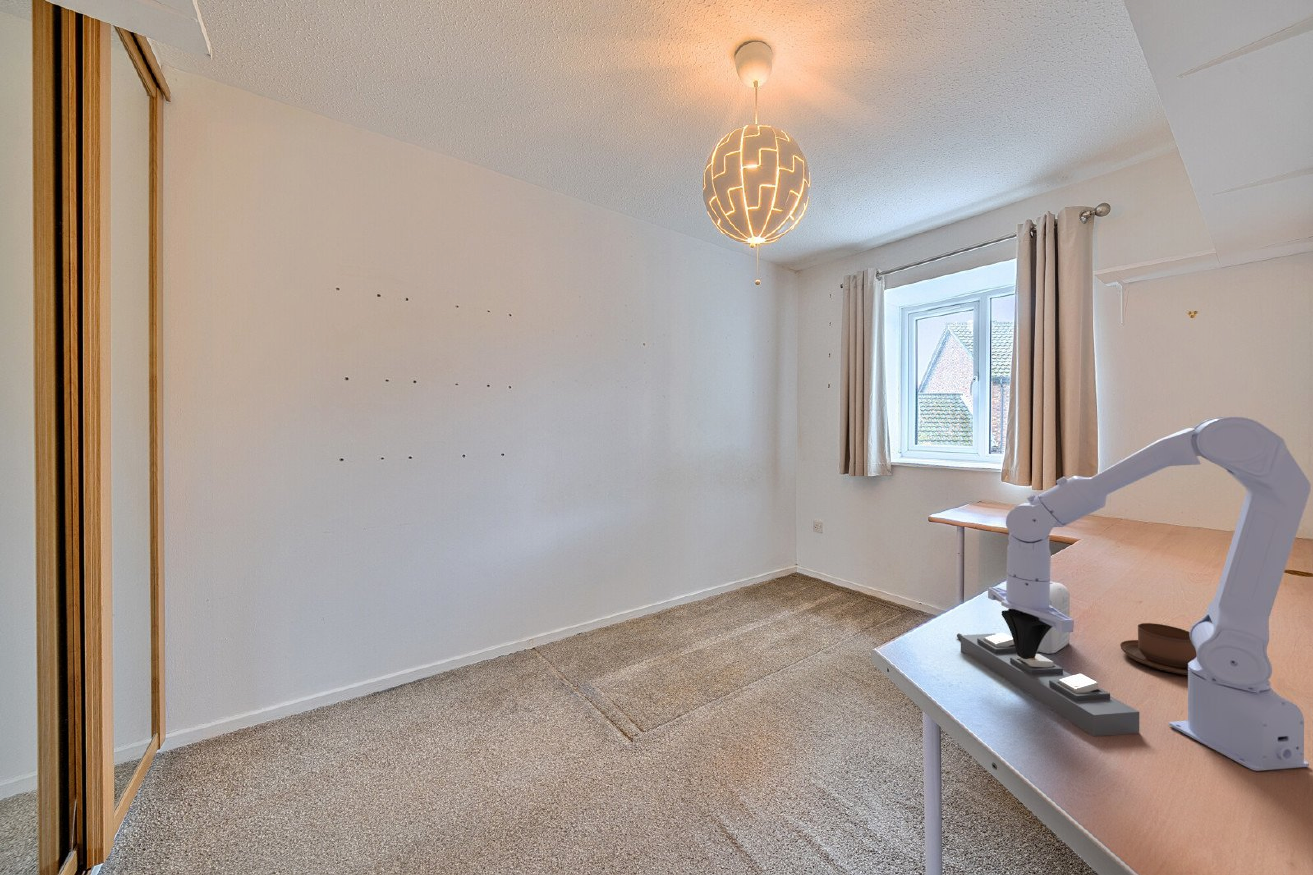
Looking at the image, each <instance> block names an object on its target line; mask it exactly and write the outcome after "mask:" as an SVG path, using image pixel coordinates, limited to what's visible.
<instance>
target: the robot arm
mask: <svg viewBox="0 0 1313 875" xmlns="http://www.w3.org/2000/svg"><path fill="white" fill-rule="evenodd" d="M1198 457H1202V458H1204V459H1205V460H1206V461H1209V462H1210V463H1213V464H1215V465H1217V466H1219V467H1221V468H1223V469H1224V470H1226V472H1227V473H1228V474H1229V475H1230V476H1231V477H1232V478H1234V479H1235V480H1236V482H1238V483H1239V484H1240V485H1241V486H1242V487H1243V488H1245V489H1246V493H1245V497H1244V500H1243V503H1242V507H1241V509H1240V513H1239V516H1238V518H1237V519H1238V520H1237V523H1236V527H1235V529H1234V533H1233V536H1232V539H1231V543H1230V545H1229V549H1228V552H1227V555H1226V559H1225V562H1224V565H1223V569H1222V572H1221V575H1220V577H1219V578H1220V579H1219V582H1218V585H1217V588H1216V591H1215V595H1214V597H1213V599H1212V601H1211V602H1210V604H1208V606H1207V608H1206V612H1205V614H1204V616H1203V617H1201V618H1200V619H1199V620H1198V621H1196V622H1195V623H1194V624H1193V625H1191V628H1190V630H1189V632H1190V634H1189V636H1190V640H1191V642H1192V644H1193V645H1194V647H1195V650H1196V655H1197V657H1196V658H1195V659H1194V660H1192V661H1190V662H1189V663H1188V675H1187V720H1176V721H1169V722H1168V725H1169V726H1170V727H1171V728H1173V729H1175V730H1177V731H1179V732H1181V733H1182V734H1184V735H1186V736H1188V737H1190V738H1192V739H1193V740H1195V741H1198V742H1199V743H1201V744H1203V745H1205V746H1206V747H1209V749H1210V748H1211V749H1213V750H1214V751H1216V752H1218V753H1220V754H1222V755H1224V756H1225V757H1227V758H1229V759H1231V760H1233V761H1235V762H1236V763H1239V764H1240V765H1243V766H1244V767H1246V768H1248V769H1250V770H1252V771H1254V772H1255V771H1256V772H1257V771H1259V772H1260V771H1269V770H1272V771H1273V770H1282V769H1285V770H1286V769H1296V768H1307V767H1310V763H1309V762H1308V761H1307V760H1305V753H1304V752H1305V750H1304V749H1305V719H1304V714H1303V712H1302V710H1301V709H1300V707H1299V706H1298V705H1297V704H1295V703H1294V702H1292V701H1290V700H1288V699H1286V698H1285V697H1282V695H1280V694H1278V693H1277V692H1275V691H1274V689H1273V688H1272V687H1271V682H1270V679H1271V677H1272V674H1273V666H1272V663H1271V660H1270V658H1269V656H1268V652H1267V651H1268V645H1269V642H1270V616H1271V615H1272V614H1271V613H1272V610H1273V607H1274V604H1275V601H1276V598H1277V594H1278V591H1279V589H1280V585H1281V582H1282V579H1283V577H1284V573H1285V570H1286V567H1287V564H1288V560H1289V557H1290V555H1291V552H1292V548H1293V545H1294V542H1295V540H1296V537H1297V533H1298V531H1299V528H1300V523H1301V521H1302V518H1303V515H1304V512H1305V509H1306V505H1307V502H1308V499H1309V496H1310V493H1311V483H1310V480H1309V479H1308V477H1307V475H1305V473H1304V472H1303V469H1301V467H1300V466H1299V464H1298V462H1297V461H1296V459H1295V458H1294V456H1293V455H1292V453H1291V452H1290V450H1289V448H1288V447H1287V444H1286V440H1284V438H1283V437H1282V436H1280V435H1278V433H1276V432H1274V431H1273V430H1272V429H1270V428H1268V427H1267V426H1265V425H1264V424H1262V423H1260V422H1259V421H1257V420H1255V419H1251V418H1248V417H1243V416H1242V417H1241V416H1223V417H1222V416H1219V417H1213V418H1208V419H1206V420H1204V421H1201V422H1200V423H1198V424H1197V425H1195V427H1194V428H1193V427H1187V428H1185V429H1182V430H1179V431H1177V432H1175V433H1172V434H1169V435H1167V436H1165V437H1162V438H1160V439H1157V440H1156V441H1154V442H1152V443H1150V444H1148V445H1147V446H1145V447H1143V448H1141V449H1140V450H1137V451H1136V452H1134V453H1132V454H1130V455H1129V456H1127V457H1125V458H1123V459H1121V460H1119V461H1118V462H1116V463H1115V464H1113V465H1111V466H1109V467H1108V468H1105V469H1104V470H1102V471H1101V472H1098V473H1097V474H1095V475H1093V476H1091V477H1090V476H1089V477H1088V476H1083V475H1082V476H1080V475H1073V476H1072V477H1069V478H1067V477H1066V476H1062V477H1060V478H1059V479H1057V480H1056V481H1055V482H1056V485H1054V486H1053V487H1051V488H1049V489H1047V490H1045V491H1044V492H1043V491H1042V493H1040V494H1038V495H1034V494H1032V495H1030V496H1028V497H1027V498H1026V499H1027V501H1028V502H1024V503H1023V502H1022V503H1021V504H1018V505H1016V506H1015V507H1014V508H1012V509H1011V510H1010V511H1009V512H1008V514H1007V515H1006V518H1005V525H1006V529H1007V530H1008V532H1009V533H1008V536H1007V539H1008V540H1007V541H1008V545H1007V546H1006V548H1007V549H1006V586H1005V589H1004V588H1001V587H988V588H987V589H988V590H987V598H988V599H989V600H991V601H998V602H999V603H1000V604H1001V606H1003V607H1005V608H1007V610H1001V616H1002V618H1003V619H1004V621H1005V623H1006V625H1007V627H1008V629H1009V632H1010V634H1011V637H1012V638H1013V641H1014V645H1015V649H1016V652H1017V655H1018V656H1019V657H1021V658H1023V659H1029V658H1035V656H1036V654H1038V651H1037V650H1038V648H1039V645H1040V643H1041V641H1042V639H1043V638H1044V636H1045V635H1046V633H1047V632H1048V631H1049V630H1050V629H1051V628H1052V627H1055V628H1056V630H1057V631H1059V632H1061V633H1064V632H1070V633H1074V628H1075V626H1074V624H1075V623H1074V619H1073V618H1071V617H1070V618H1069V617H1067V616H1065V615H1063V614H1062V613H1061V612H1059V611H1058V610H1056V609H1055V608H1053V607H1052V606H1050V605H1049V601H1050V581H1051V565H1052V564H1051V561H1052V556H1051V555H1052V552H1051V550H1050V534H1051V532H1052V530H1053V528H1064V527H1066V526H1067V525H1070V524H1072V523H1074V522H1076V521H1078V520H1080V519H1082V518H1084V517H1086V516H1088V515H1090V514H1093V513H1094V512H1097V511H1099V510H1100V509H1103V508H1105V507H1106V502H1107V496H1108V495H1109V494H1112V493H1113V492H1117V491H1118V490H1120V489H1122V488H1125V487H1126V486H1129V485H1131V484H1133V483H1135V482H1137V481H1140V480H1141V479H1144V478H1146V477H1149V476H1150V475H1152V474H1155V473H1157V472H1158V471H1161V470H1163V469H1165V468H1168V467H1177V466H1196V465H1201V461H1200V460H1199V458H1198Z"/></svg>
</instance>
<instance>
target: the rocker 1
mask: <svg viewBox="0 0 1313 875" xmlns="http://www.w3.org/2000/svg"><path fill="white" fill-rule="evenodd" d="M995 634H996V635H992V636H989V637H985V641H986V642H988V643H989V644H991V645H993V646H995V647H1007V646H1010V645H1014V641H1013V638H1012V636H1010V635H1009V634H1006V633H1004V632H1000V633H999V632H998V633H995Z"/></svg>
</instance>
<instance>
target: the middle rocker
mask: <svg viewBox="0 0 1313 875" xmlns="http://www.w3.org/2000/svg"><path fill="white" fill-rule="evenodd" d="M1019 659H1020V660H1022V661H1023V662H1025V663H1027V664H1029V665H1030V666H1032V667H1053V663H1054V661H1053V660H1051V659H1049V658H1048V657H1046V656H1043V655H1042V654H1040V653H1039V654H1038V653H1036V656H1035V658H1029V659H1023V658H1021V657H1019Z"/></svg>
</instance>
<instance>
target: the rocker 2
mask: <svg viewBox="0 0 1313 875" xmlns="http://www.w3.org/2000/svg"><path fill="white" fill-rule="evenodd" d="M1059 681H1060V684H1061V685H1062V686H1064V687H1066V688H1068V689H1069V690H1071V691H1073V692H1075V693H1086V692H1089V691H1093V690H1096V689H1098V687H1099V686H1098V685H1099V684H1098V682H1097V681H1095V680H1093V679H1091V678H1090V677H1088V676H1086V675H1084V674H1082V673H1078V674H1074V675H1072V676H1070V677H1067V678H1063V679H1060V680H1059Z"/></svg>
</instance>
